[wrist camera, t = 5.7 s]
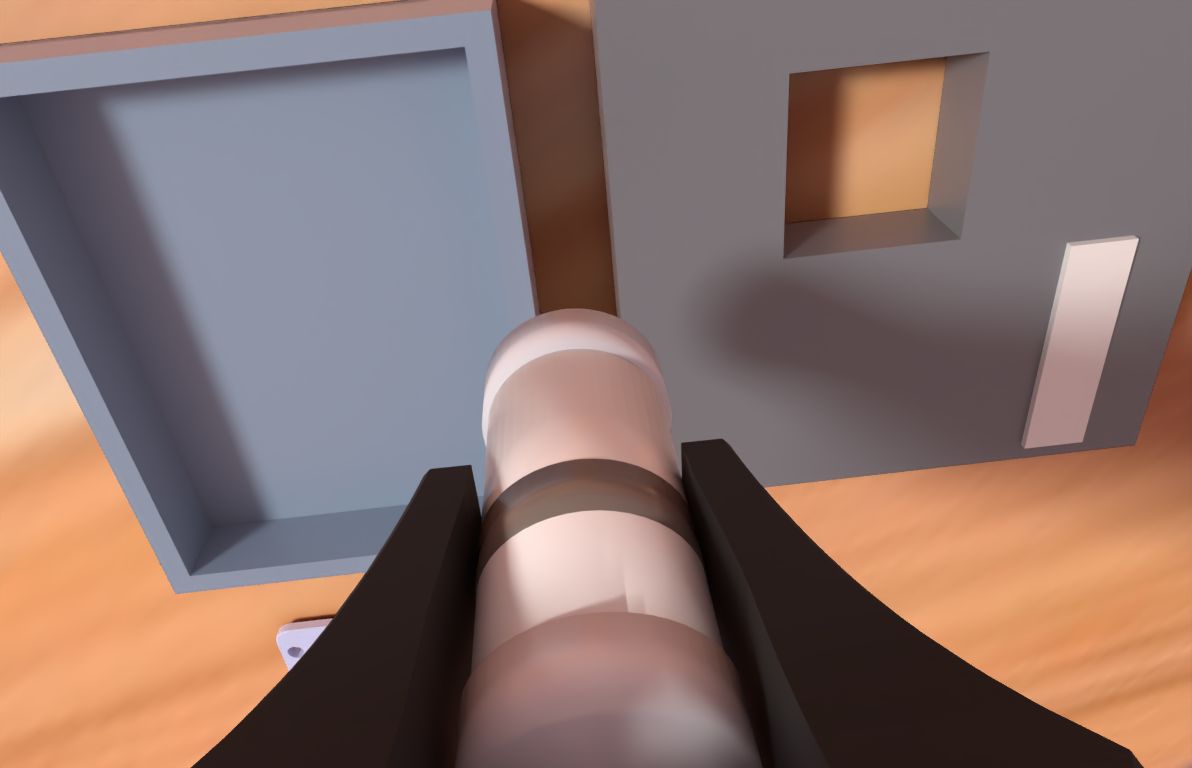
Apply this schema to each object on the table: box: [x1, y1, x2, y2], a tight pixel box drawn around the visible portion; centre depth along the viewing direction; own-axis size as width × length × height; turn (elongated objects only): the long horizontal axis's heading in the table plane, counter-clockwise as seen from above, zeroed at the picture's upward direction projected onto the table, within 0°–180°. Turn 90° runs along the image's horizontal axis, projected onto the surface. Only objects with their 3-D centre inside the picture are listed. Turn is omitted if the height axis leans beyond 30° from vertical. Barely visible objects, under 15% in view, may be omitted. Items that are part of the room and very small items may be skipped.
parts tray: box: [0, 0, 541, 594], centre depth 21 cm, size 14×11×2 cm
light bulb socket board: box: [590, 0, 1192, 487], centre depth 20 cm, size 16×14×2 cm
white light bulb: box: [455, 308, 763, 768], centre depth 12 cm, size 3×3×8 cm
